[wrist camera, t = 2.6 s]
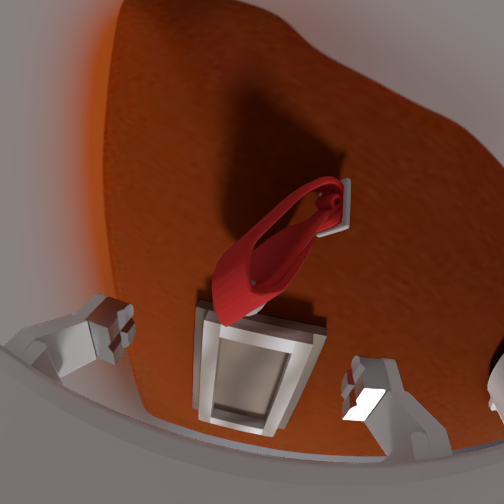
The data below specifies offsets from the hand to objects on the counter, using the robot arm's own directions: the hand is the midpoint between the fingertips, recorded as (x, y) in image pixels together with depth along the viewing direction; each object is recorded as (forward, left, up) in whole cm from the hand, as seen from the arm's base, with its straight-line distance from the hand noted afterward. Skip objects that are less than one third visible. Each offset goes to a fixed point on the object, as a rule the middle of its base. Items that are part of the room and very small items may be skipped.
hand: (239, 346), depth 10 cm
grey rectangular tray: (0, +18, -14) cm, 23 cm away
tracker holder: (0, 0, -14) cm, 14 cm away
